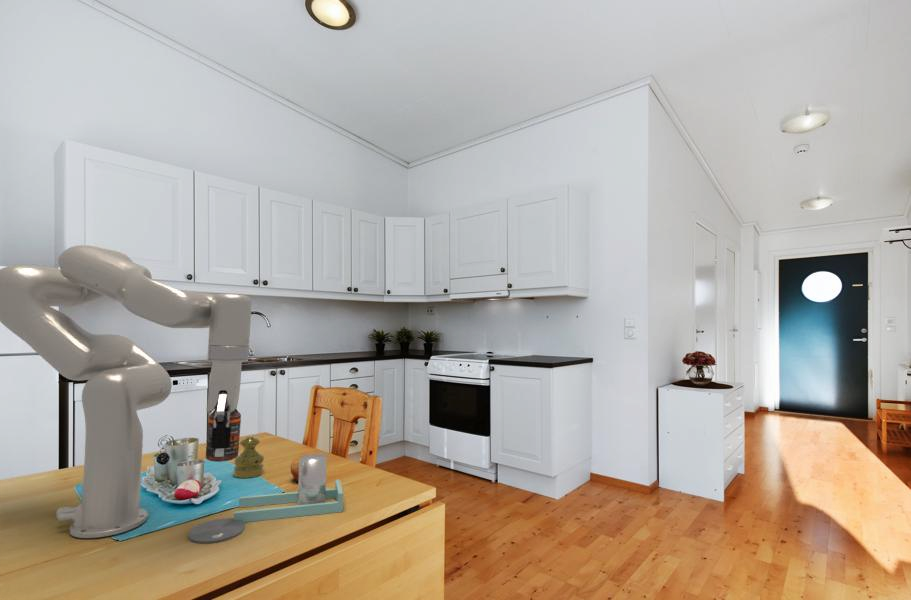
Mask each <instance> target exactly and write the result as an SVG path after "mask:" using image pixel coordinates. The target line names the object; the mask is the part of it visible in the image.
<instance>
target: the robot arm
mask: <svg viewBox="0 0 911 600" xmlns="http://www.w3.org/2000/svg"><path fill="white" fill-rule="evenodd" d="M102 297H107V298H109V299H112V300H114V301H115V302H116V301H117V302H119V303H120V304H121V305H122V306H123V307H124V308H125V309H126V310H127V311H128V312H130V313H131V314H134V315H135V316H138V317H140V318H142V319H145V320H147V321H149V322H152V323H155V324H158V325H159V326H163V327H165V328H171V329H208V343H207V344H208V346H207V357H206V358H207V359H206V360H207V362H208V363H212V364H211V367H210V368H211V369H210V375H209V383H208V384H209V385H208V386H209V387H208V392H207V393H208V395H207V402H206V403H207V405H206V412H207V413H208V414H211V413H213V412H214V410H215V416H214V425H213V428H212V444H211V448H212V449H221V448H229V446H230V435H231V427H229V426H230V416H231V412H233V411H234V410H235V409H237V408H236V405H237V406H239V405H238V404H239V398H240V391H241V381H242V364H243V363H247V362H249V355H250V353H249V352H250V335H251V334H250V333H251V319H252V299H251V298H250V297H249V296H248V295H245V294H240V293H239V294H235V293H216V294H213V293H207V292H201V291H193V290H184V289H179V288H178V289H177V288H175V287H171V286H169V285H166V284H164V283H163V282H162V283H161V282H159V281H156V280H154V279H153V277H152V274H151V271H150V270H149V269H148V268H147V267H145V266H143V265H140V264H138V263H135V262H134V261H133V260H132V259H131V258H130V257H129V256H127V255H126V254H125V253H122V252H120V251H117V250H111V249H107V248H103V247H98V246H92V245H84V244H82V245H81V244H80V245H79V244H78V245H74V246H70V247H68V248H67V249H64V250H63V251H62V252H61V253H60V255H59V256H58V259H57V267H52V266H46V265H45V266H44V265H38V264H13V265H9V266H5V267H2V268H1V269H0V323H1V324H2V325H3V326H5V328H6V329H8V330H9V331H10V332H12V333H13V334H15V335H16V336H17V337H18V338H19V339H21V340H22V341H23V342H25V343H26V345H28V346H29V347H30V348H31V349H32V350H33V351H34V352H36V354H38V355H39V357H41V358H42V359H43V360H44V361H45V362H47V364H48V365H50V366H51V367H52V368H53V369H54V370H55V371H56V372H57V373H59V374H60V376H62V377H64V378H66V379H68V380H71V381H86V382H85V384H84V385H83V388H82V391H81V403H82V409H83V415H84V423H85V439H84V440H85V441H84V442H85V443H84V464H83V466H84V467H83V478H82V479H83V480H82V493H81V494H82V495H81V504H78V505H77V506H72V507H71V506H67V507H66V506H65V507H59V508H58V509H57V510H56V514H55V517H56V519H57V521H58V522H64V521H65V522H66V521H72V522H73V523H72V524H71V525H70V526H69V534H70V535H71V536H72V537H75V538H78V539H97V538H98V539H99V538H105V537H110V536H115V535H118V534H123V533H125V532H128V531H131V530H133V529H135V528H137V527H140V526H141V525H143V524H144V523H145V522H146V521H147V519H148V511H147V509H145V508H142V507H140V500H141V499H140V498H141V480H142V466H143V465H142V463H143V462H142V461H143V447H144V446H143V441H144V431H143V430H144V429H143V426H142V422H141V421H140V419H139V415H138V412H137V411H140V410H144V409H149V408H153V407H155V406H157V405H159V404H162V403H163V402H165V401H166V400H167V398H168V397H169V396H170V394H171V391H172V386H173V384H172V379H171V376H170V374H169V373H168V371H167V370H166V369H165V368H164V367H163V366H162V365H161V364H160V363H159V362H158V361H157V360H155V359H154V358H153V357H152V356H151V355H150V354H149V353H148V352H146V351H145V350H144V349H143V348H142V347H140V346H139V345H138V344H137V343H136V342H134V341H133V340H131V339H130V338H127V337H125V336H123V335H119V334H96V333H95V334H94V333H91V332H88V331H87V330H85V329H84V328H82V326H80V325H79V324H78V323H77V322H75V320H73V319H72V318H71V317H69V316H68V315H66V314H65V313H63V312H62V311H60V310H57V309H56V308H54V307H61V308H62V307H63V308H71V307H78V306H82V305H85V304H87V303H91V302H92V301H94V300H98V299H101V298H102ZM215 406H216V407H215ZM225 409H229V410H228V411H225ZM224 415H227V417H226V416H224ZM226 420H227V421H226Z"/></svg>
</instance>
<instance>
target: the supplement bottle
mask: <svg viewBox="0 0 911 600" xmlns="http://www.w3.org/2000/svg"><path fill="white" fill-rule="evenodd" d="M237 406H238V405H236V409H235V410H234V411H233V412H231V416H230V426H229V427H231V435H230V446H229V448H221V449H212V448H211V444H212V428H213V425H214V416H215V409H214V410H213V411H212V412H211V413H209V416H208V421H207V433H206V435H207V436H206V448H205V449H206V450H205V459H206V460H207V461H209V462H215V463H216V462H218V463H221V462H227V461H231V460H235V458H236V457H238V456H239V451H240V450H239V449H240V436H241V435H240V434H241V424H242V414H241V413H240V412H239V410H238V409H237V408H238V407H237ZM215 407H216V406H215ZM228 410H229V409H225V411H228ZM224 416H226V417H227V415H224ZM226 421H227V420H226Z"/></svg>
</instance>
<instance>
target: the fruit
mask: <svg viewBox="0 0 911 600" xmlns="http://www.w3.org/2000/svg"><path fill="white" fill-rule="evenodd" d="M309 454H317V453H316V452H304V453H301V454H299V456H296V458H294V459H293V460H292V461H291V464H290V472H291V476H292V477H293V478H294V480H295V481H297V482H299V458H300V457H302V456H304V455H309Z"/></svg>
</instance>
